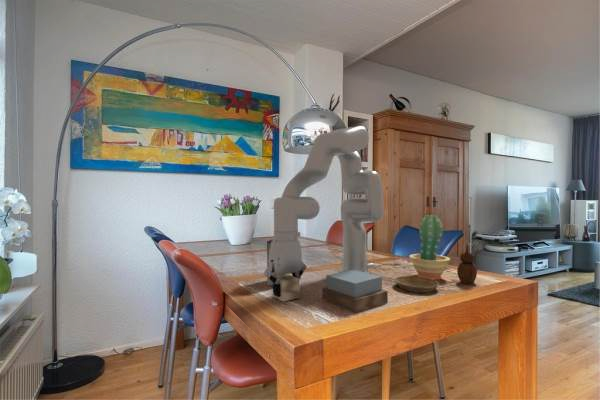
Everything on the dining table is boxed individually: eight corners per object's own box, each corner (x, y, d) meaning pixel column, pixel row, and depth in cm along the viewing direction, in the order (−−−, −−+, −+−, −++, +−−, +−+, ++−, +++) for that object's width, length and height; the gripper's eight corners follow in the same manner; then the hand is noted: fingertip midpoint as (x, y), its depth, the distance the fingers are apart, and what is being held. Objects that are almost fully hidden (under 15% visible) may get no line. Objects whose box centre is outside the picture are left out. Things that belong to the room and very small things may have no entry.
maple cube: (288, 292, 101) (288, 274, 101) (299, 297, 96) (299, 278, 96) (273, 296, 98) (272, 277, 97) (283, 301, 93) (283, 281, 93)
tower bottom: (353, 292, 104) (353, 281, 104) (387, 304, 93) (387, 291, 93) (322, 300, 96) (322, 288, 96) (355, 314, 85) (355, 299, 85)
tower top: (352, 281, 104) (352, 269, 104) (381, 289, 94) (381, 276, 94) (326, 288, 96) (326, 275, 96) (355, 297, 87) (355, 283, 87)
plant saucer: (399, 280, 119) (399, 274, 119) (441, 286, 111) (441, 279, 111) (389, 290, 106) (389, 282, 106) (435, 297, 99) (436, 289, 99)
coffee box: (273, 278, 120) (273, 237, 120) (289, 279, 119) (289, 238, 119) (266, 285, 111) (266, 240, 111) (283, 286, 110) (283, 241, 110)
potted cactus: (459, 278, 121) (459, 215, 121) (433, 284, 114) (433, 216, 113) (425, 270, 135) (426, 213, 134) (400, 274, 127) (401, 214, 127)
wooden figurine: (470, 285, 112) (470, 244, 112) (454, 282, 116) (455, 242, 116) (479, 282, 116) (479, 242, 115) (463, 279, 120) (463, 241, 120)
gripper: (301, 233, 105) (301, 286, 105) (255, 237, 95) (256, 296, 95) (314, 235, 99) (315, 291, 99) (268, 240, 89) (268, 302, 89)
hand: (286, 293), depth 97 cm, fingers closed on maple cube, 6 cm apart
